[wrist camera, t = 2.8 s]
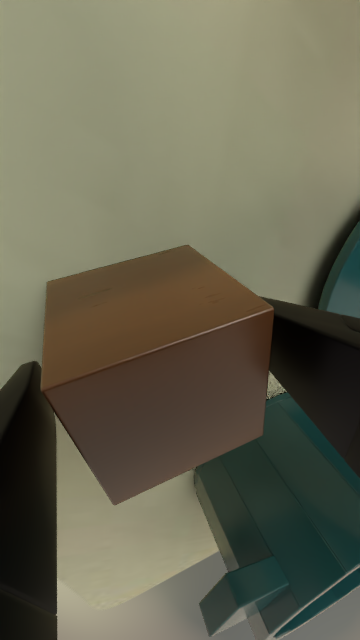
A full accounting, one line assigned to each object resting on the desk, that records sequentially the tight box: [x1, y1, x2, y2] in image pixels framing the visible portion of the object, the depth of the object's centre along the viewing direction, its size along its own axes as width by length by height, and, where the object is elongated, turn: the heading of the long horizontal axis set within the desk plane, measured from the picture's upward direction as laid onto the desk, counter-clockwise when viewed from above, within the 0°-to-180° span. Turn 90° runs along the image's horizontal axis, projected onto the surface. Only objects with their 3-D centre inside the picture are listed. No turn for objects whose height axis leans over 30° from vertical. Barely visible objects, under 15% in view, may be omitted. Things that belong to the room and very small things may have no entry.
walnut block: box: [41, 245, 274, 505], centre depth 8 cm, size 5×5×5 cm
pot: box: [194, 392, 360, 640], centre depth 16 cm, size 11×17×7 cm
